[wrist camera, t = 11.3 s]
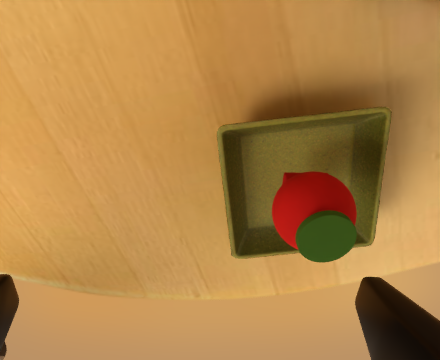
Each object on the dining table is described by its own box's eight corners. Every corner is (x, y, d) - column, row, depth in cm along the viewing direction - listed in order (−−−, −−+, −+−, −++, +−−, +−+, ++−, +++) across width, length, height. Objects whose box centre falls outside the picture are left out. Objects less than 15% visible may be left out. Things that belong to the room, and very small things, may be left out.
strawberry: (331, 221, 19) (361, 274, 15) (262, 221, 19) (276, 274, 15) (346, 158, 17) (384, 201, 13) (270, 157, 17) (287, 200, 13)
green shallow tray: (229, 239, 22) (231, 261, 20) (214, 113, 18) (215, 126, 16) (359, 225, 22) (373, 246, 20) (374, 95, 18) (394, 105, 16)
